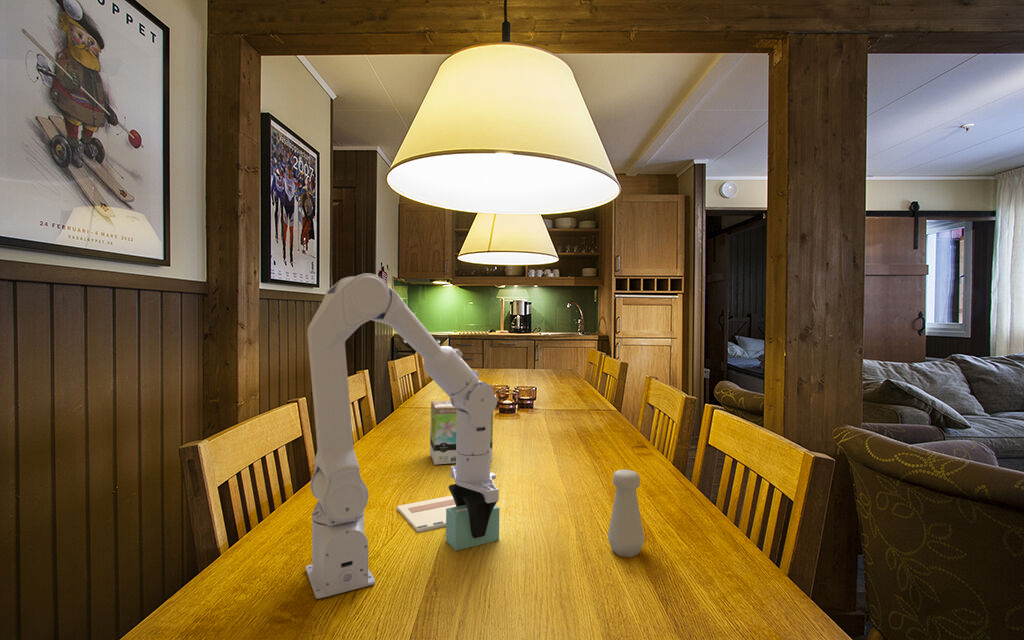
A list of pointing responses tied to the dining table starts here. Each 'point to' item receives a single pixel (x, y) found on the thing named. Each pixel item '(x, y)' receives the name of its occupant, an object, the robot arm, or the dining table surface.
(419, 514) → the white card
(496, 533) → the teal rectangular block
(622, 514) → the salt shaker
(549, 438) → the dining table surface
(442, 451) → the tea box
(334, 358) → the robot arm
